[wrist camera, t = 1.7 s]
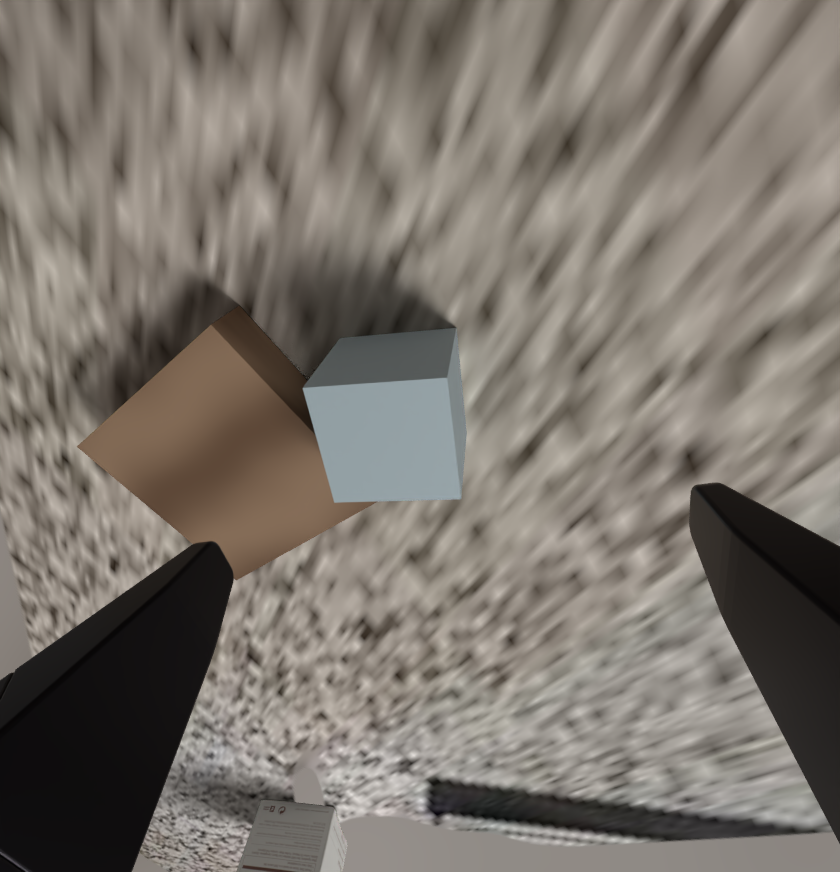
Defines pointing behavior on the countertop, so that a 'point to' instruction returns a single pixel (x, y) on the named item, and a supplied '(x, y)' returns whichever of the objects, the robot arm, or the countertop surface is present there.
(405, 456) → the block
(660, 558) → the countertop surface
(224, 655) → the countertop surface
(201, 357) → the board
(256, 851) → the supplement box
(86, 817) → the robot arm
